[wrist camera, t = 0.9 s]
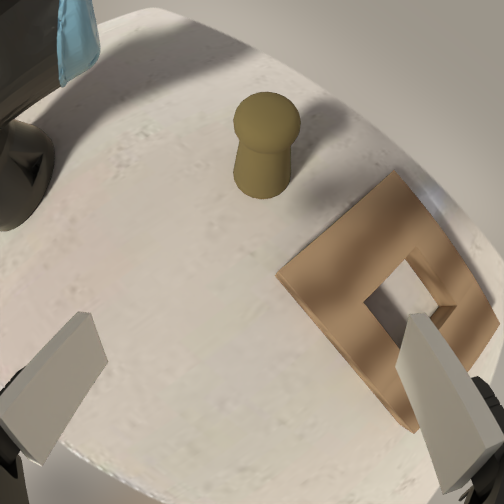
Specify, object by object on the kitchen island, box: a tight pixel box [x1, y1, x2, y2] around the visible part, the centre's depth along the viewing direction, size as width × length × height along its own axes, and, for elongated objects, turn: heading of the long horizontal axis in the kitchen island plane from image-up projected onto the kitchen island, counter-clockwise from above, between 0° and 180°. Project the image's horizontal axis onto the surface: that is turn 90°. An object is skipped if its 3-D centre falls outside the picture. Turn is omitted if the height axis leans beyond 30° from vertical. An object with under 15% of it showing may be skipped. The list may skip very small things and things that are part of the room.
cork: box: [233, 92, 301, 199], centre depth 25 cm, size 6×6×11 cm
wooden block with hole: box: [275, 170, 500, 434], centre depth 27 cm, size 22×16×4 cm
